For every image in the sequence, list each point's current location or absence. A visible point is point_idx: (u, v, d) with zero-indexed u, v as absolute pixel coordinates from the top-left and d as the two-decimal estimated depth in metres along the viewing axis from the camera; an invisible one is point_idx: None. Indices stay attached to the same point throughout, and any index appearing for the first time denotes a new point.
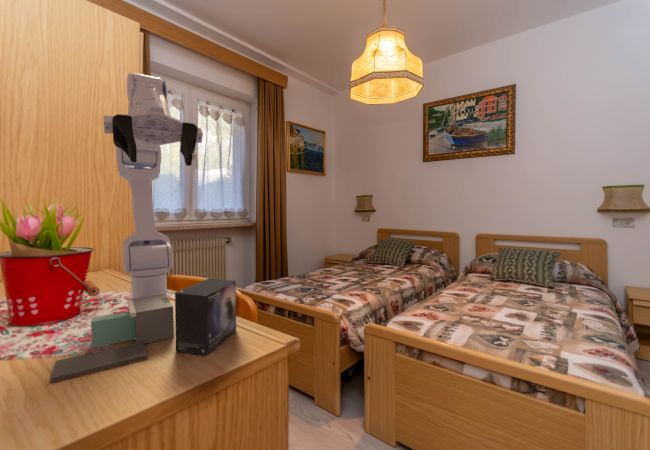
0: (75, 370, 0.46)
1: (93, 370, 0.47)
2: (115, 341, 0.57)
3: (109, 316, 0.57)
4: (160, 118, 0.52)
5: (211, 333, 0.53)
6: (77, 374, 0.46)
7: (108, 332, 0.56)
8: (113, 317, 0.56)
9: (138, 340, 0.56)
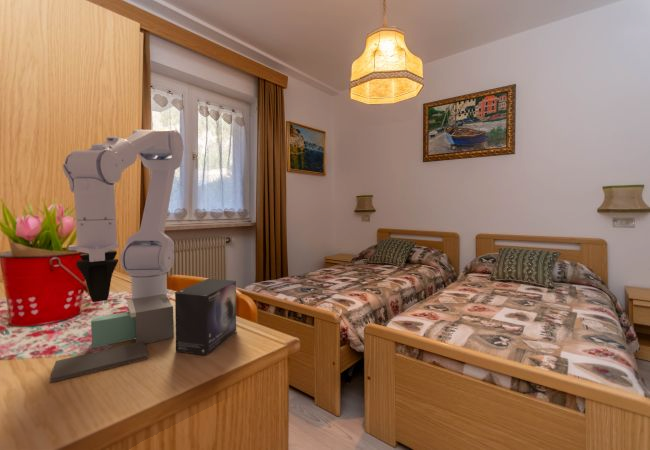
0: (75, 370, 0.46)
1: (93, 370, 0.47)
2: (115, 341, 0.57)
3: (109, 316, 0.57)
4: None
5: (211, 333, 0.53)
6: (77, 374, 0.46)
7: (108, 333, 0.56)
8: (113, 317, 0.56)
9: (138, 340, 0.56)
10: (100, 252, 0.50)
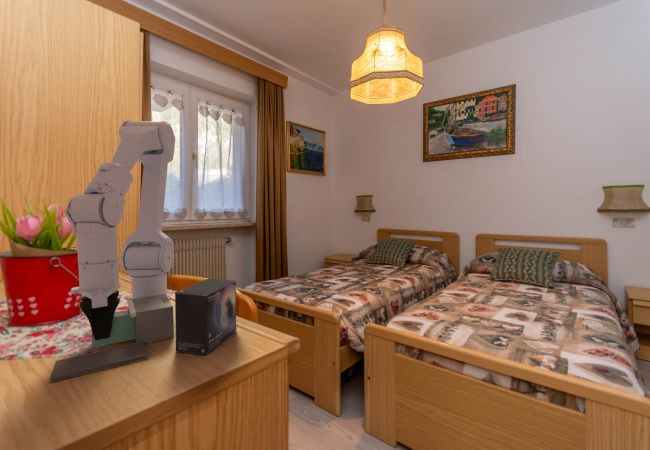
0: (75, 370, 0.46)
1: (93, 370, 0.47)
2: (115, 340, 0.57)
3: None
4: None
5: (211, 333, 0.53)
6: (77, 374, 0.46)
7: None
8: (113, 316, 0.56)
9: (138, 340, 0.56)
10: (102, 298, 0.50)
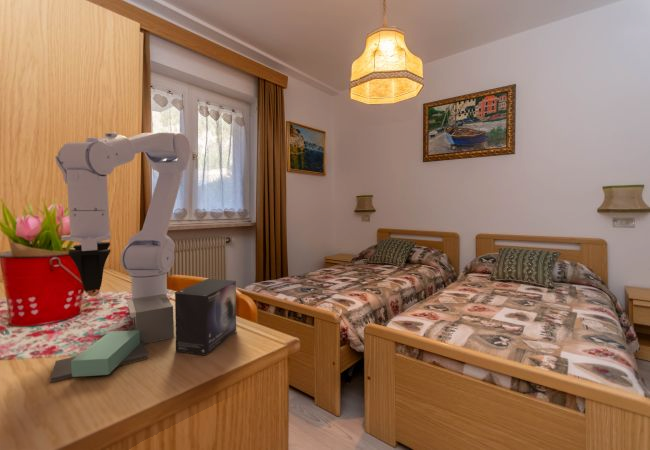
0: None
1: None
2: None
3: (117, 355, 0.48)
4: None
5: (211, 333, 0.53)
6: None
7: None
8: (119, 362, 0.48)
9: None
10: (92, 242, 0.50)
